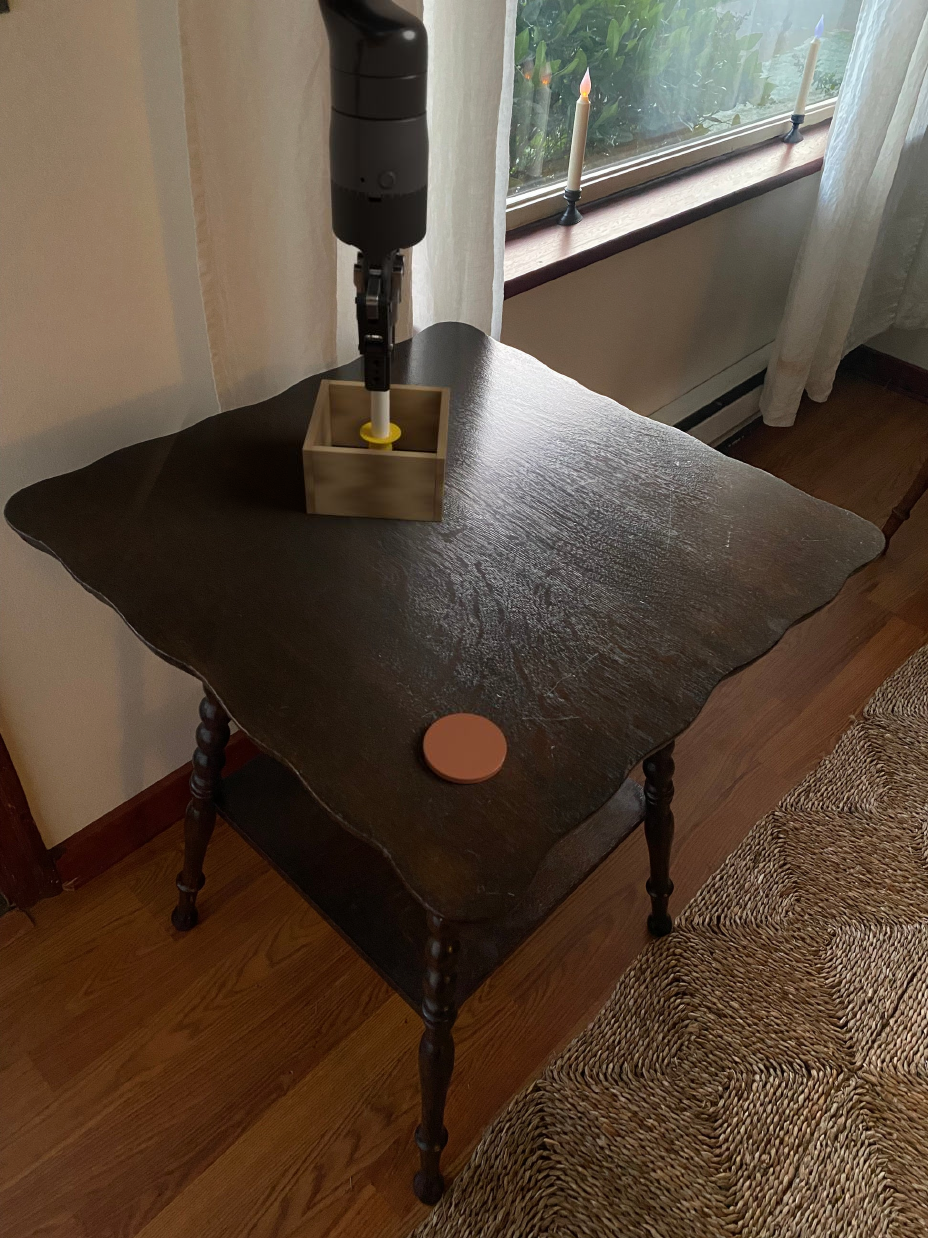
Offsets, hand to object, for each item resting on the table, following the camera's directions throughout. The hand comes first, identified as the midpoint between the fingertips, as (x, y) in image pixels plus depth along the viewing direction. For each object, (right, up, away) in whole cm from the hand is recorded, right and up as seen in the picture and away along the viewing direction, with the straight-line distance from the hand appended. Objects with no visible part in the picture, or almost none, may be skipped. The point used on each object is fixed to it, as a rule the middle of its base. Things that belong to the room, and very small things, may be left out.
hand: (380, 374), depth 80 cm
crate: (-1, -8, +8) cm, 11 cm away
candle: (-1, -8, +8) cm, 12 cm away
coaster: (+8, -31, -16) cm, 36 cm away
